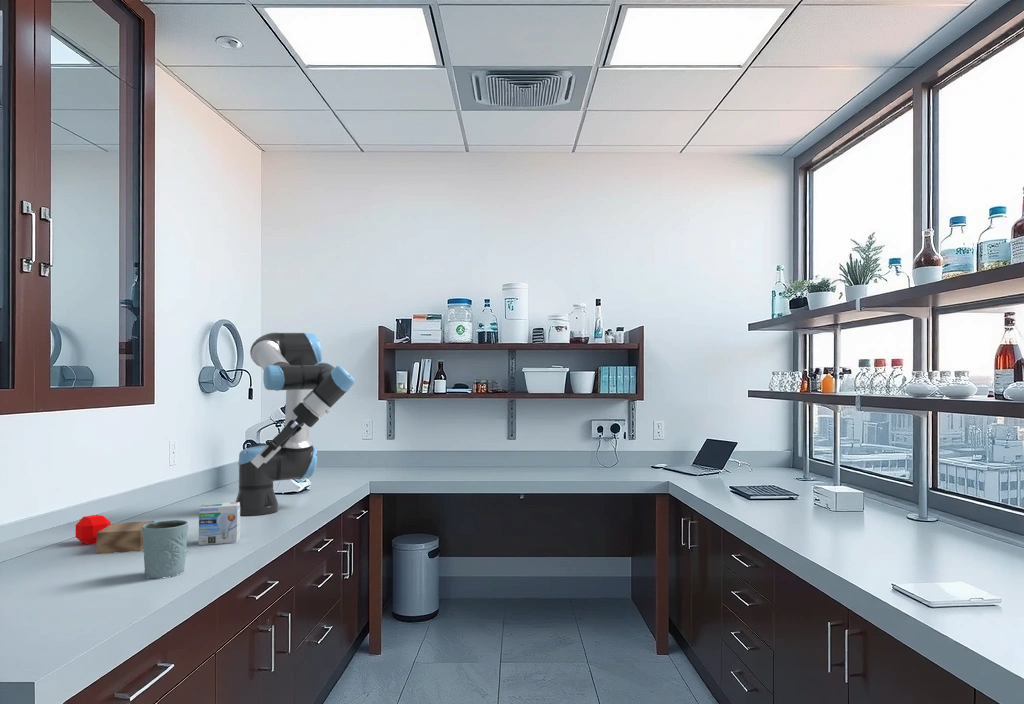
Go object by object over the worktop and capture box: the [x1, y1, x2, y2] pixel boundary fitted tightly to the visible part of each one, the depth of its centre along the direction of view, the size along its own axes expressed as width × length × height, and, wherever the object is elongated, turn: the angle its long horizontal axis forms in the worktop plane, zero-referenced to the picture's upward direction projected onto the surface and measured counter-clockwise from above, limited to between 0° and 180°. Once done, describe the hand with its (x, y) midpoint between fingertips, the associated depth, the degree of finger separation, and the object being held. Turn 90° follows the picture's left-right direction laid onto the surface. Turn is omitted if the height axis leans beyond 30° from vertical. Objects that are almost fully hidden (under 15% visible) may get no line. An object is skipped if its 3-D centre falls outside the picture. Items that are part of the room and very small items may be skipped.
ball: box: [74, 514, 112, 546], centre depth 210 cm, size 8×8×8 cm
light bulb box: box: [198, 501, 241, 546], centre depth 208 cm, size 11×7×11 cm, turn 105°
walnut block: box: [96, 520, 155, 555], centre depth 203 cm, size 11×14×6 cm
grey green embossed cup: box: [142, 519, 189, 579], centre depth 172 cm, size 10×10×12 cm
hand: (258, 462), depth 210 cm, fingers open, 13 cm apart
